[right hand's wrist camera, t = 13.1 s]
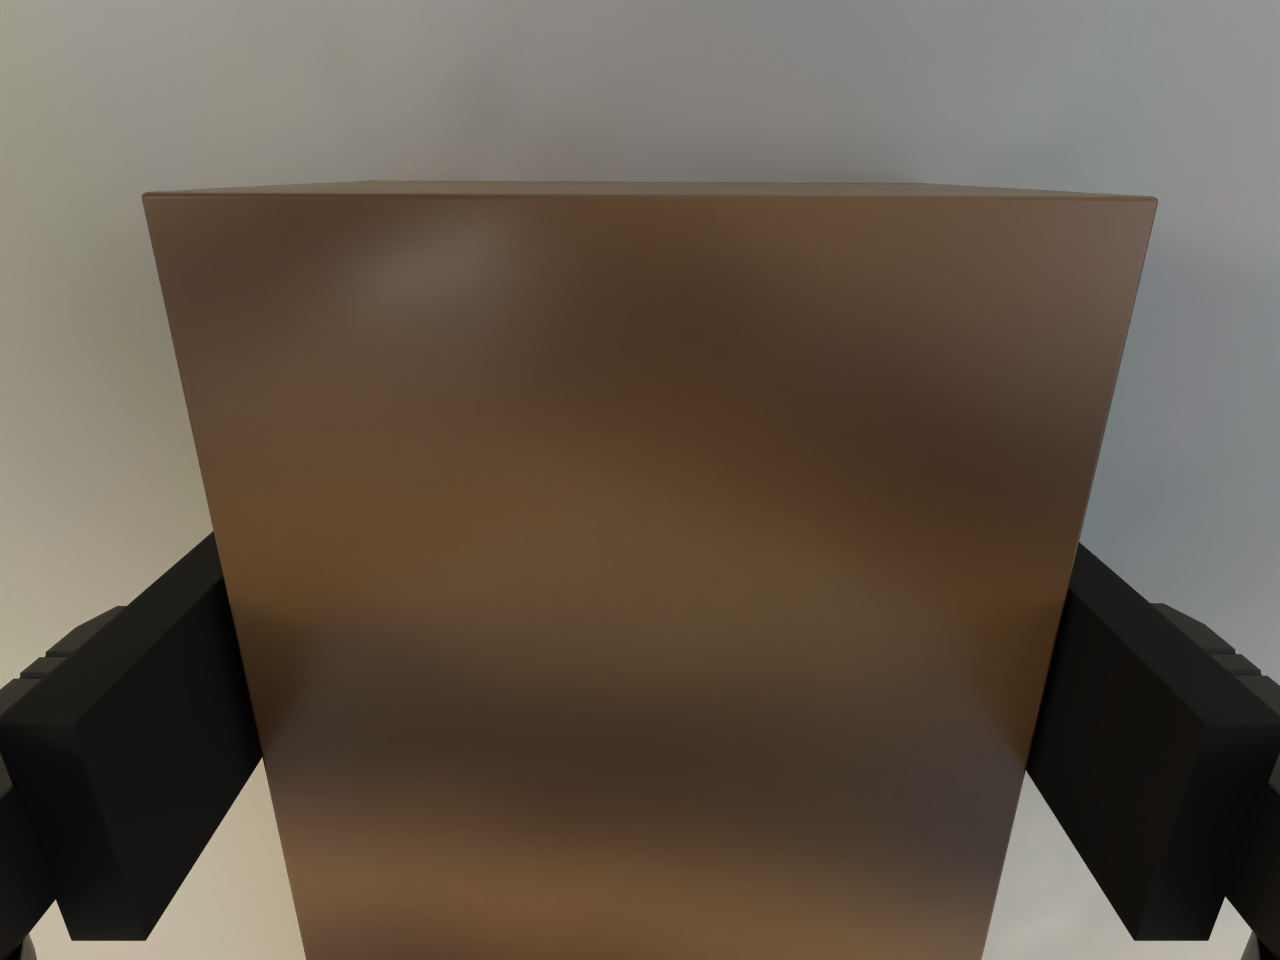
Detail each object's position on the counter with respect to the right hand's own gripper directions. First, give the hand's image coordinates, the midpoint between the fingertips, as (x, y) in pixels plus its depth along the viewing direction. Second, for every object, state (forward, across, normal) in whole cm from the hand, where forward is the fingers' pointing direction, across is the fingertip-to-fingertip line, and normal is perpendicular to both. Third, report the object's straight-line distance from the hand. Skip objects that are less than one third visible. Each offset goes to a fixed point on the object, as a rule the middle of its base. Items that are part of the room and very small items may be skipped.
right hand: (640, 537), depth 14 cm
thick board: (+3, 0, -23) cm, 23 cm away
